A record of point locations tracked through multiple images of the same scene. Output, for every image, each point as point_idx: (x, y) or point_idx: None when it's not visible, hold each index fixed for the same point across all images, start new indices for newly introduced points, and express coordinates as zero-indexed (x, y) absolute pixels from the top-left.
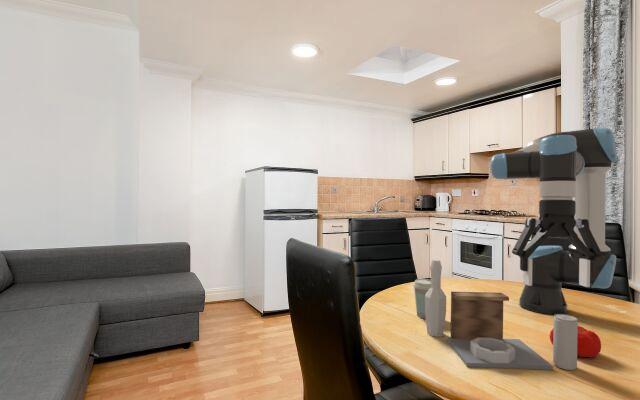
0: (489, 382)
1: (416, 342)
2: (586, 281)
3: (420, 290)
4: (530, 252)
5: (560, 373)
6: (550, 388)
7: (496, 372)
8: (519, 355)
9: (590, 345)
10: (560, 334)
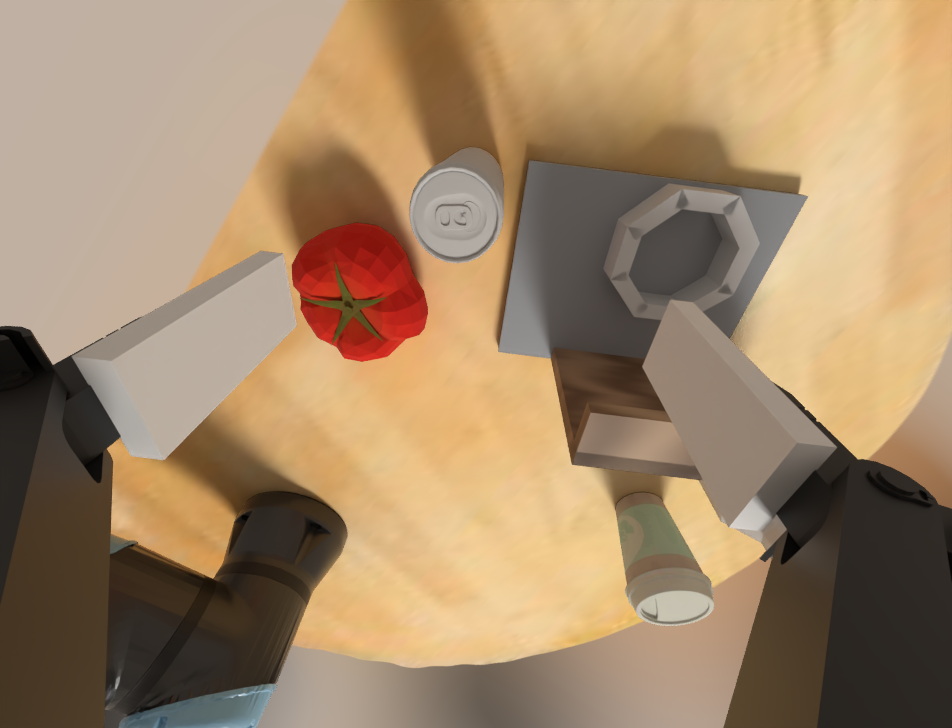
0: (825, 68)
1: (807, 365)
2: (261, 268)
3: (702, 572)
4: (886, 525)
5: (521, 132)
6: (644, 9)
7: (732, 148)
8: (583, 242)
9: (349, 229)
10: (498, 181)
